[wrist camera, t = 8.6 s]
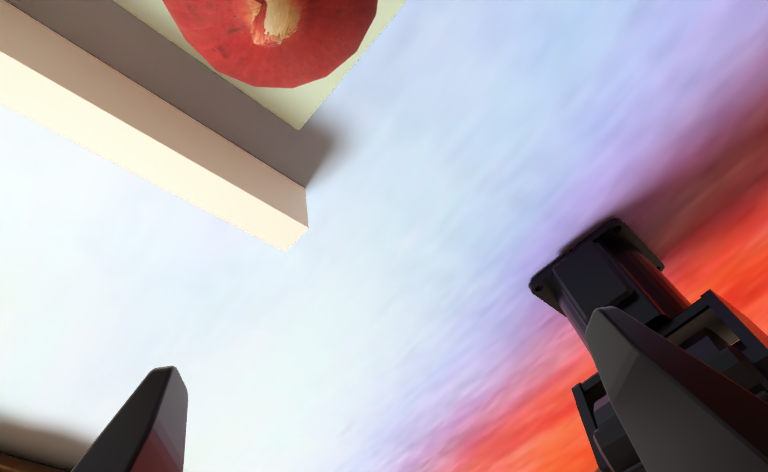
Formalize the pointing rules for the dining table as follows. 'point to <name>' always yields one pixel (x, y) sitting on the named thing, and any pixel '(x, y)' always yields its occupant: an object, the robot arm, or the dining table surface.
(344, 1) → the onion
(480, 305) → the dining table surface
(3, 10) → the arena
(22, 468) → the bread
